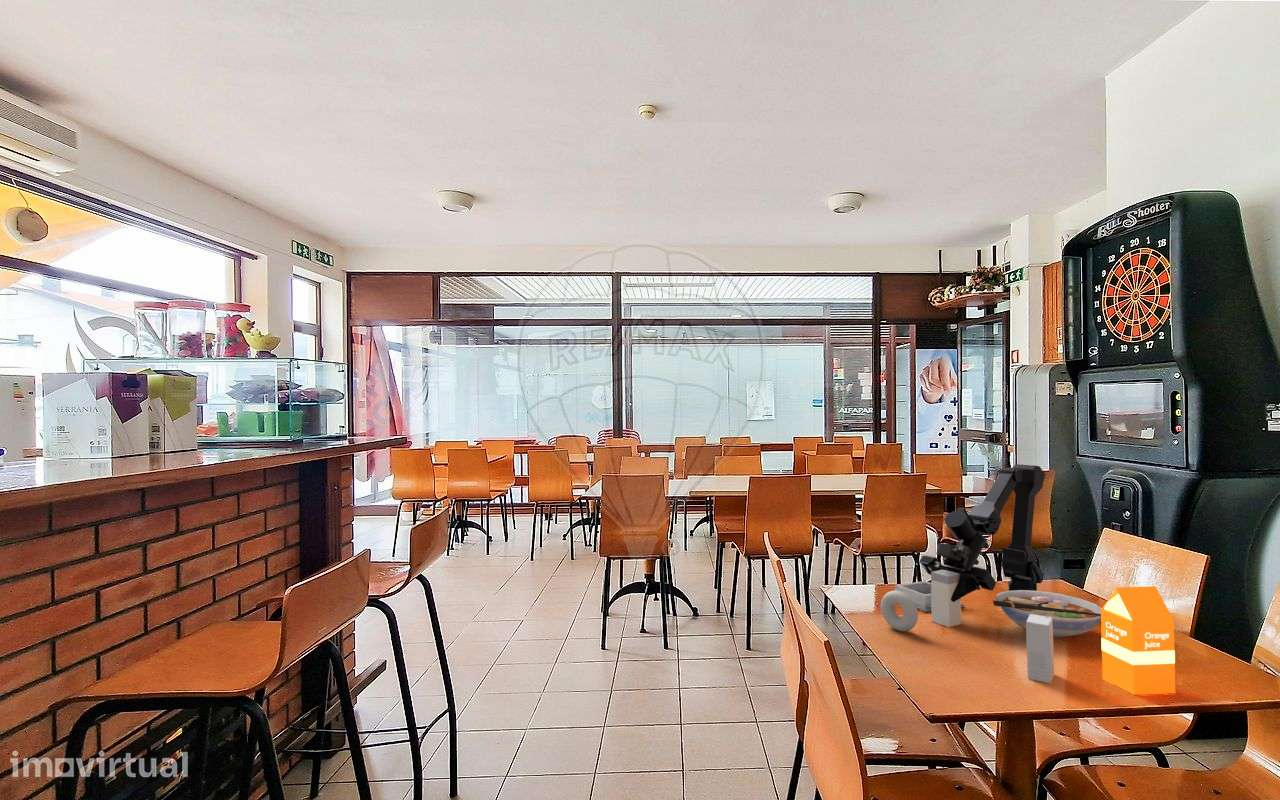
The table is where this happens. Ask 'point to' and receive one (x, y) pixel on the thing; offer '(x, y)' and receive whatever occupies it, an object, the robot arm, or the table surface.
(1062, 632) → the ramen bowl
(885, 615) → the donut
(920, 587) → the metal collar
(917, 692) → the table surface
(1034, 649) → the skincare box
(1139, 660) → the orange juice
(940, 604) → the gray square block
